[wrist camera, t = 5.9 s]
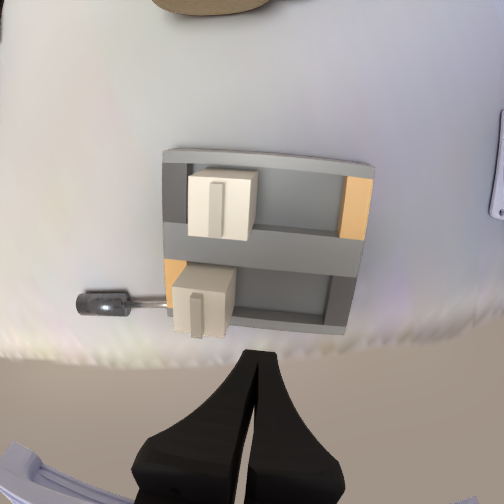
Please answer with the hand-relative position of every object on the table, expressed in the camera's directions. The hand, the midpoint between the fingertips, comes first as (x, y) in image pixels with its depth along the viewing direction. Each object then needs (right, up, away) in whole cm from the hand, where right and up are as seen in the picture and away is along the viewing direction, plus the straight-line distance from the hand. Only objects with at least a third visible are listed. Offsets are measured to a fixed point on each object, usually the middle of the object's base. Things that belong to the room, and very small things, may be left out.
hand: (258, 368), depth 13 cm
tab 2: (-3, +3, +8) cm, 9 cm away
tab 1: (-1, +8, +6) cm, 10 cm away
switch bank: (0, +6, +8) cm, 10 cm away
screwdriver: (-10, +1, +11) cm, 15 cm away
